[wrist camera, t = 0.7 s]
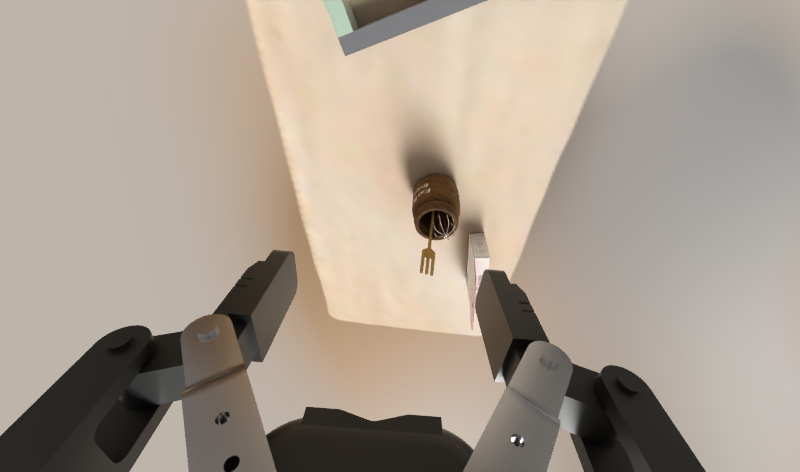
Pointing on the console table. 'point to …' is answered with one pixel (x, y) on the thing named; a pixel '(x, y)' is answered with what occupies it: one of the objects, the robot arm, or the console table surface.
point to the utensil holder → (435, 212)
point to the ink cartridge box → (476, 267)
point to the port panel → (387, 21)
